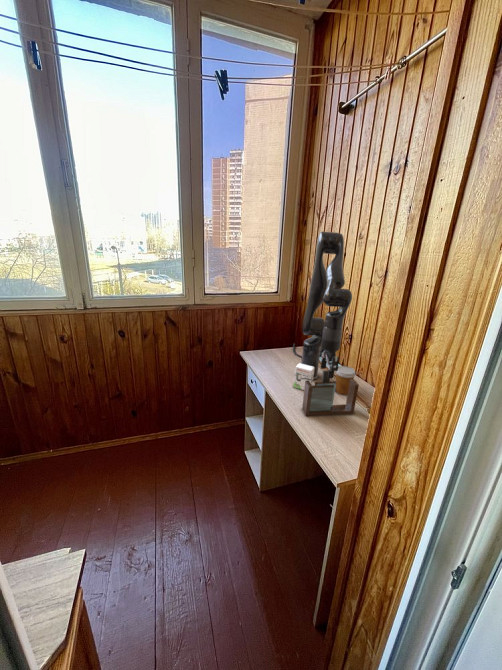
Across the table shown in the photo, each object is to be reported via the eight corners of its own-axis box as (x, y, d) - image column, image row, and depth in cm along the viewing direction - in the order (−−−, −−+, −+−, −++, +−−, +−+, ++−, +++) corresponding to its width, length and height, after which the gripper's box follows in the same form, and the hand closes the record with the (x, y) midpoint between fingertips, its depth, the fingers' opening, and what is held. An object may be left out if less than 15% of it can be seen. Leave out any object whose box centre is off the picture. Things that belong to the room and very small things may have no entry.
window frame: (302, 409, 131) (305, 380, 126) (348, 407, 134) (353, 378, 129) (305, 416, 126) (309, 386, 121) (353, 413, 129) (358, 384, 124)
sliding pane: (311, 406, 130) (315, 370, 124) (331, 405, 131) (336, 370, 125) (312, 408, 129) (316, 372, 123) (332, 407, 130) (338, 371, 124)
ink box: (293, 387, 149) (295, 366, 145) (296, 383, 153) (298, 362, 149) (309, 392, 145) (311, 370, 141) (312, 387, 149) (314, 366, 145)
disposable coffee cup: (355, 391, 147) (359, 370, 143) (345, 398, 140) (349, 376, 136) (339, 384, 153) (342, 363, 149) (328, 390, 147) (331, 369, 143)
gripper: (348, 344, 113) (341, 381, 118) (333, 331, 126) (328, 365, 132) (329, 344, 112) (324, 381, 117) (316, 331, 125) (312, 365, 131)
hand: (326, 372), depth 124 cm, fingers open, 8 cm apart
